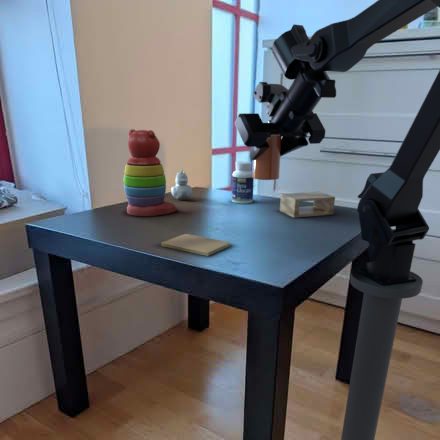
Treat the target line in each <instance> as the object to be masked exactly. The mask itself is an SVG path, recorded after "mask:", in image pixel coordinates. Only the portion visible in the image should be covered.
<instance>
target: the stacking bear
mask: <svg viewBox="0 0 440 440" xmlns="http://www.w3.org/2000/svg"><path fill="white" fill-rule="evenodd" d="M127 138H128V139H127V143H126V144H127V149H128V152H129V154H130V156H131V157H129V158H128V159H127V161H126V164H125V167H124V175H123V189H124V193H125V197H126V200H127V203H128V205H127V206H126V213H127V214H128V215H130V216H134V217H156V216H162V215H168V214H171V213H175V212H177V207H176V205H175V204H174V203H173V202H169V201H166V200H165V197H166V196H165V195H166V191H167V180H166V175H165V170H164V167H163V164H162V163H161V160H160V159H159V158H158V157H157V155H158V153H159V150H160V147H161V146H160V145H161V144H160V141H159V139H158V136H156V133H155V132H154V130H151V129H150V130H146V129H138V130H135V129H134V128H132V129H130V130H129V131H128V137H127Z"/></svg>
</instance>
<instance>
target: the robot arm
mask: <svg viewBox="0 0 440 440" xmlns="http://www.w3.org/2000/svg"><path fill="white" fill-rule="evenodd" d="M437 8H439V9H440V0H376V1H375V2H373V3H372V4H371V5H370V6H368V7H366V8H365V9H363V10H362V11H361V12H359V13H358V14H356V15H355V16H354V17H351V18H349V19H346V20H341V21H337V22H333V23H330V24H329V25H325V26H323V27H322V28H319V29H317V30H316V31H315V32H314V33H313V34H312V35H311V37H309V36H308V34H307V30H306V29H305V26H304V25H302V24H294V23H293V24H292V26H291V28H290V29H288V30H286V31H284V32H283V33H282V34H280V35H279V36H278V37H277V38H276V39H274V41H273V43H272V46H271V53H272V55H273V57H274V59H275V60H276V62H277V64H278V66H279V68H280V70H281V72H282V74H283V75H284V77H285V79H286V80H289V81H290V80H293V81H292V83H291V84H290V86H289V87H288V88H287V87H286V86H284V85H282V84H280V83H268V82H267V81H259V82H258V84H257V85H256V87H255V88H254V93H253V98H254V99H255V100H256V101H257V102H258V103H260V104H263V105H264V106H265V107H266V108H267V109H266V112H265V113H266V114H267V116H268V117H269V118H270V119H269V120H268V121H267V122H263V120H262V118H261V116H260V114H259V113H257V112H256V113H254V112H253V113H250V112H249V113H247V112H246V113H245V112H244V113H238V115H237V117H236V119H235V121H234V123H233V124H234V126H235V128H236V130H237V132H238V134H239V136H240V138H241V141H242V143H243V145H244V146H246V147H248V148H250V150H249V159H250V161H253V160H254V159H256V158H257V157H258V156H259V155H261V154H262V153H263V152H264V151H266V150H267V149H268V148H269V147H270V146H269V144H268V142H267V141H268V139H269V138H270V137H271V136H281V152H280V158H281V157H283V156H286V155H287V154H289V153H291V152H294V151H296V150H298V149H301V148H303V147H307V146H308V145H309V144H310V145H312V144H313V145H315V144H321V143H322V141H323V140H325V137H326V128H325V127H324V125H323V123H322V121H321V119H320V117H319V116H318V114H317V113H316V112H314V109H315V108H316V107H317V105H318V104H319V102H320V101H321V99H322V98H324V99H335V98H336V97H337V88H336V79H331V78H330V76H329V74H328V73H327V72H334V73H336V72H337V73H346V72H348V71H349V70H351V69H352V68H354V67H355V66H356V65H357V64H358V63H359V62H361V61H362V60H363V59H364V58H365V56H366V54H367V52H368V50H369V49H370V48H372V46H374V45H375V44H377V43H379V42H381V41H382V40H384V39H385V38H387V37H389V36H390V35H392V34H394V33H395V32H397V31H399V30H401V29H402V28H404V27H406V26H408V25H409V24H410V23H412V22H414V21H416V20H417V19H419V18H421V17H422V16H425V15H426V14H428V13H429V12H431V11H433V10H434V9H437ZM308 134H309V137H308ZM439 152H440V69H439V71H438V72H437V74H436V77H435V78H434V80H433V82H432V84H431V86H430V88H429V90H428V91H427V94H426V95H425V97H424V100H423V101H422V104H421V106H420V108H419V109H418V111H417V113H416V115H415V117H414V119H413V121H412V123H411V125H410V127H409V129H408V131H407V133H406V135H405V137H404V139H403V140H402V143H401V144H400V147H399V149H398V151H397V152H396V154H395V156H394V158H393V160H392V162H391V164H390V166H389V167H388V168H387V169H386V170H385V171H384V172H375V173H370V174H369V176H368V177H367V178H366V181H365V184H364V187H363V189H362V191H361V192H360V193H359V194H358V195H357V198H358V199H359V201H358V204H357V210H356V211H357V213H358V218H359V226H360V235H361V240H362V241H365V242H367V243H368V247H367V255H366V257H367V258H368V259H369V262H366V263H365V265H366V268H362V269H358V272H359V273H360V274H362V275H364V276H366V277H367V278H369V279H371V280H373V281H374V282H376V283H378V284H380V285H382V286H387V285H394V284H401V283H407V282H414V281H416V279H417V278H416V277H414V276H412V275H410V271H411V269H412V264H413V259H414V254H415V250H416V249H415V248H416V243H415V242H414V241H418V240H420V241H421V240H424V239H425V237H426V235H427V234H428V232H429V230H430V226H429V225H428V223H427V221H426V220H425V218H424V216H423V213H422V212H421V210H419V207H420V204H421V202H422V199H423V195H424V179H425V176H426V174H427V173H428V171H429V170H430V167H431V166H432V164H433V162H434V161H435V159H436V157H437V155H438V154H439ZM393 227H395V228H394V229H392V228H393Z"/></svg>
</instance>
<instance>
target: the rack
mask: <svg viewBox="0 0 440 440" xmlns="http://www.w3.org/2000/svg"><path fill="white" fill-rule="evenodd" d="M279 201H280V203H279V211H280V212H281V213H283V214H285V215H287V216H289V217H292V218H294V219H296V218H297V219H298V218H308V217H319V216H321V217H322V216H329V215H334V210H335V201H336V196H334V195H331V194H328V193H325V192H321V191H319V190H318V191H305V192H303V191H302V192H288V193H280V200H279ZM301 202H313V203H312V205H309V206H300V203H301Z"/></svg>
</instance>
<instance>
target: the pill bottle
mask: <svg viewBox="0 0 440 440" xmlns="http://www.w3.org/2000/svg"><path fill="white" fill-rule="evenodd" d="M252 165H253V162H251V161H244V160H243V161H242V160H241V161H235V166H234V167H235V170H234V171H233V172H232V179H231V182H232V183H231V201H232V203H235V204H245V205H246V204H251V203H252V202H253V200H254V181H255V179H254V178H253V170H251V169H252Z"/></svg>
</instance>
